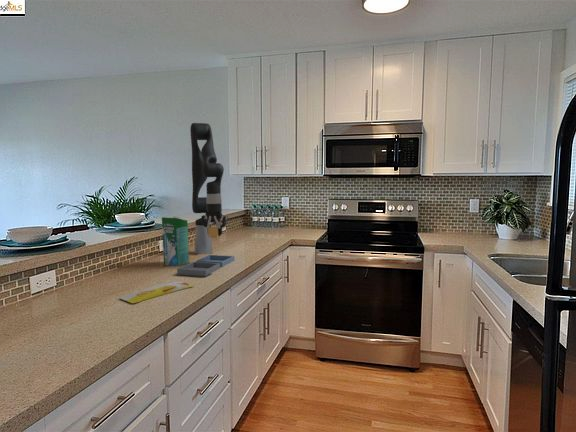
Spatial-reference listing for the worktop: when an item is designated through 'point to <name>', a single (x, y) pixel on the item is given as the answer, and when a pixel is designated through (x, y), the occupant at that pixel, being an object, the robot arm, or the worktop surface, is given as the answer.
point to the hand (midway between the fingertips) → (214, 235)
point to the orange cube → (213, 231)
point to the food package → (155, 292)
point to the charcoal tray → (198, 269)
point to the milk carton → (175, 241)
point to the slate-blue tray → (217, 259)
